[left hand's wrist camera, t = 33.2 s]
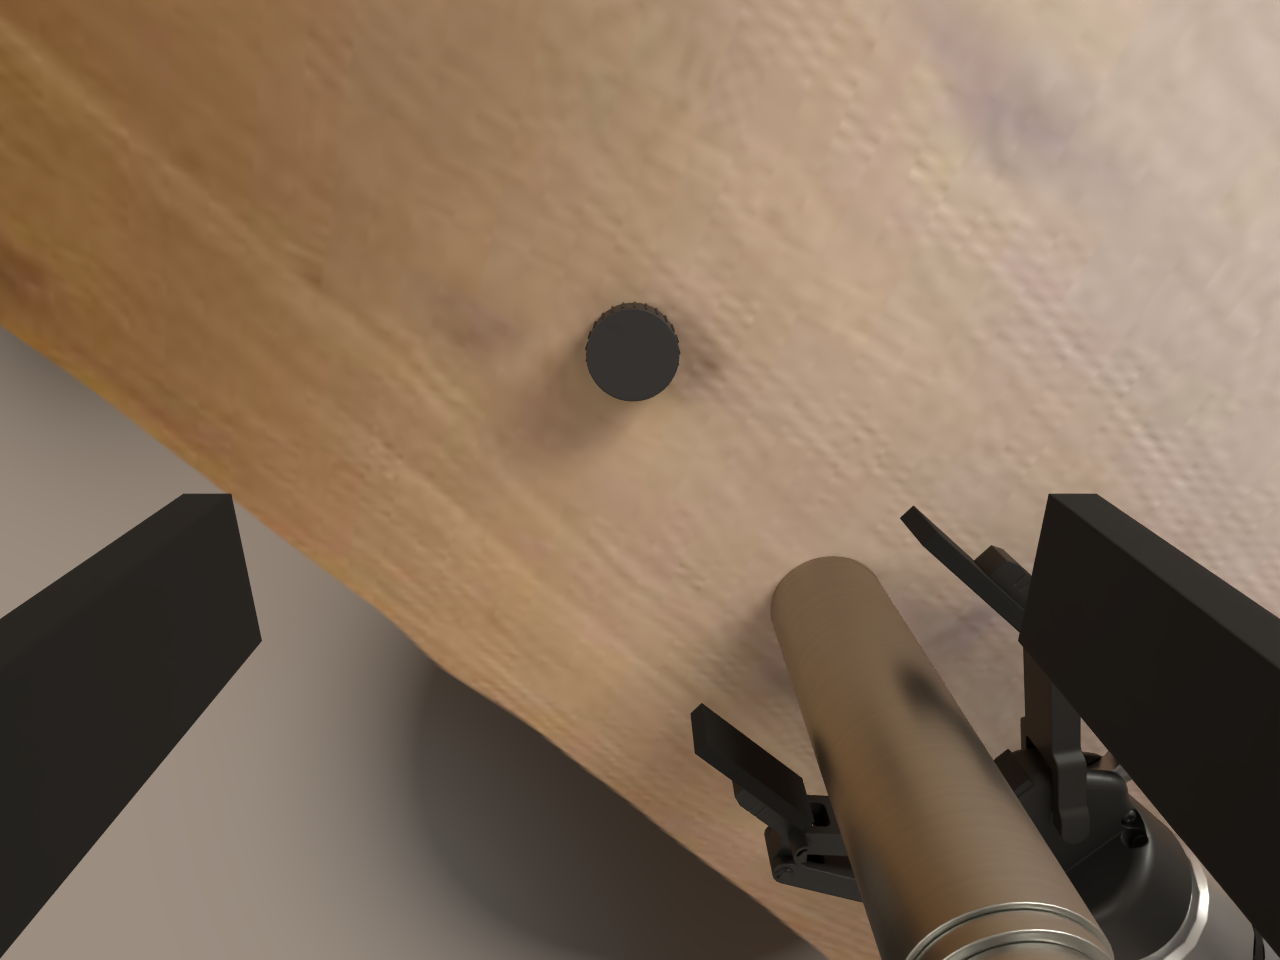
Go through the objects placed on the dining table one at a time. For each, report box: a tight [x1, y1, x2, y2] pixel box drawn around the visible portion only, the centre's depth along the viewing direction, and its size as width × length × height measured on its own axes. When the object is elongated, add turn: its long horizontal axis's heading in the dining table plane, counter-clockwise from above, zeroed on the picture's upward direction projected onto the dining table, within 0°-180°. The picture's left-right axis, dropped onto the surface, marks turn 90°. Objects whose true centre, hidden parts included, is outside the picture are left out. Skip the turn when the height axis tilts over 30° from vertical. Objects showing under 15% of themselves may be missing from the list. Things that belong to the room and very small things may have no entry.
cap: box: [585, 302, 680, 401], centre depth 33 cm, size 4×4×2 cm
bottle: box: [771, 557, 1114, 960], centre depth 27 cm, size 6×6×25 cm
